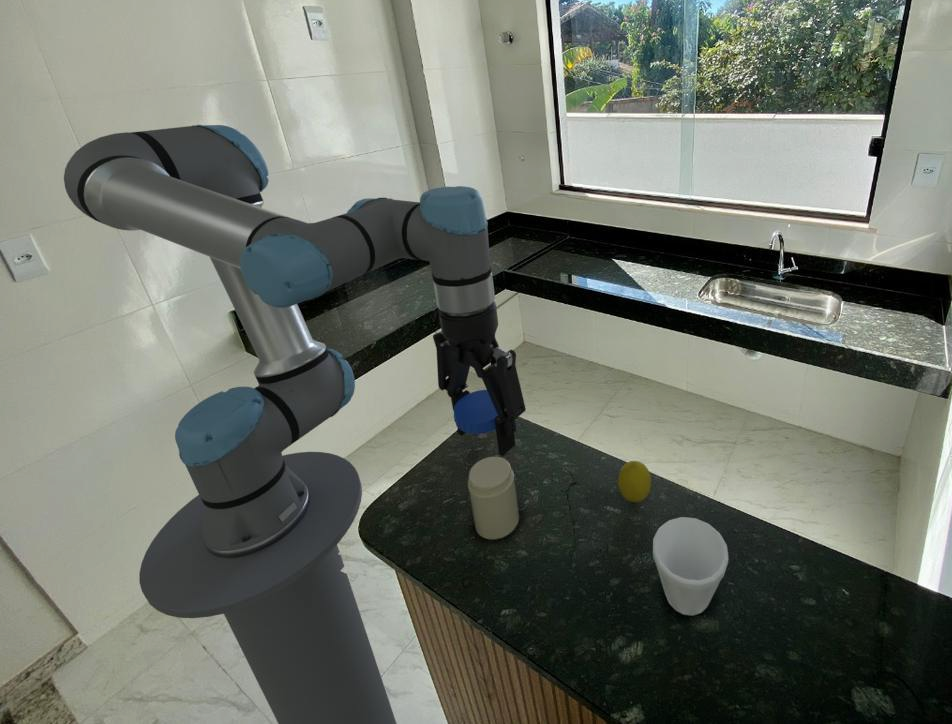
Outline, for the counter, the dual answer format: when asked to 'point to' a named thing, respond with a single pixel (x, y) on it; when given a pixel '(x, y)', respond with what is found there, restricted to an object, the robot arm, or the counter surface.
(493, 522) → the jar
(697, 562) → the cup
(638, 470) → the lemon
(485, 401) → the jar lid
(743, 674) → the counter surface
